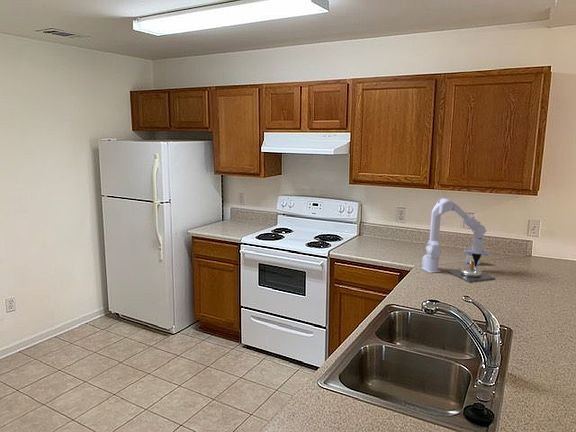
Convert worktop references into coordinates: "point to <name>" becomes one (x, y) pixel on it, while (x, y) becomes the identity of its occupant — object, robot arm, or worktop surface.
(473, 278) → the base plate
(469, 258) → the medicine box
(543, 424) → the worktop surface
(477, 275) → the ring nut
